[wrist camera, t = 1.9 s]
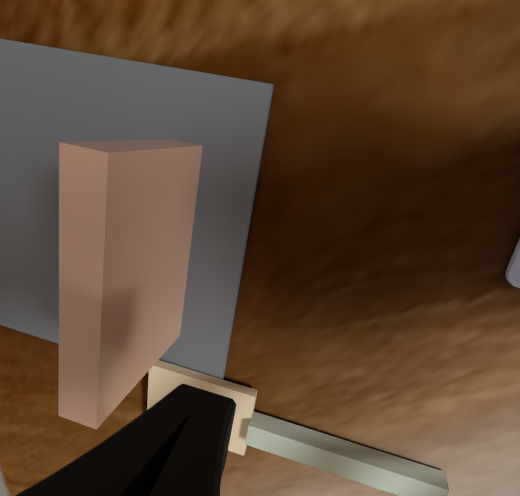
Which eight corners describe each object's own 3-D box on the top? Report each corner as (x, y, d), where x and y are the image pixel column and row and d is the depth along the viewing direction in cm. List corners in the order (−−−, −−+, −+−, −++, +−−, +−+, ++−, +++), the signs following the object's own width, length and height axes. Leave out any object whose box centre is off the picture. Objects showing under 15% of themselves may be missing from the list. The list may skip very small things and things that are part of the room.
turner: (455, 451, 19) (460, 469, 18) (426, 508, 20) (429, 527, 19) (153, 358, 21) (144, 370, 20) (150, 416, 23) (142, 429, 22)
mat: (273, 84, 16) (272, 84, 16) (221, 392, 21) (219, 396, 21) (-21, 35, 19) (-27, 34, 19) (-4, 320, 24) (-9, 322, 24)
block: (202, 145, 17) (108, 152, 11) (179, 335, 21) (96, 429, 14) (169, 138, 18) (57, 141, 11) (151, 327, 21) (57, 415, 14)
